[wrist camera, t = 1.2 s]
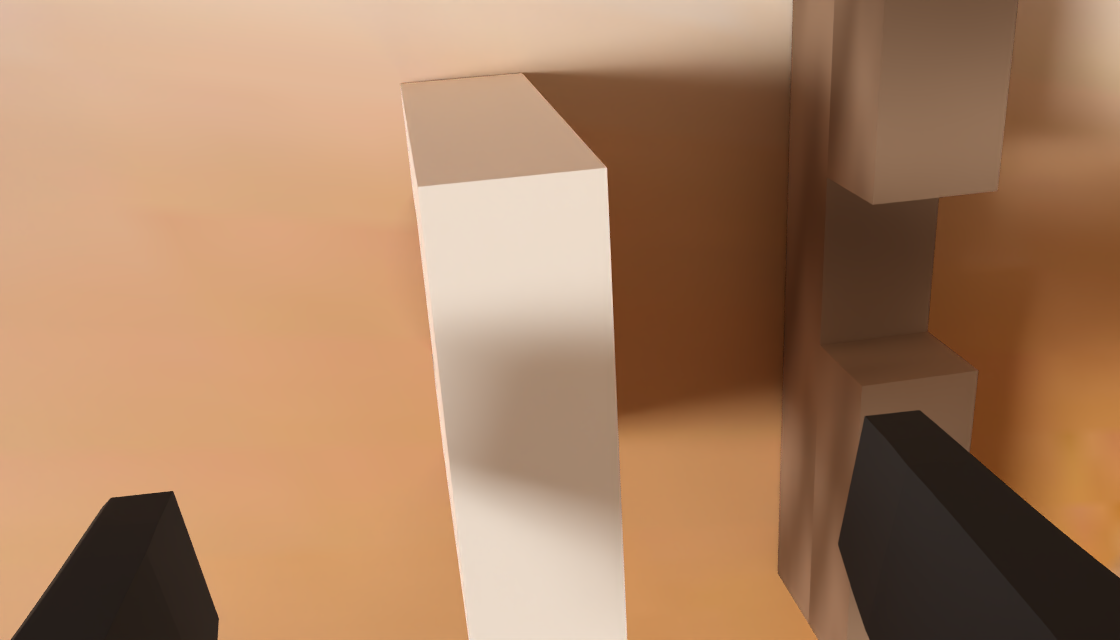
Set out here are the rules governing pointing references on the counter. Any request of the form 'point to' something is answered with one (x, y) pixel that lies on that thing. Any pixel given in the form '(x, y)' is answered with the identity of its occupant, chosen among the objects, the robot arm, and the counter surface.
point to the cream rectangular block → (521, 355)
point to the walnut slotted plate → (874, 248)
